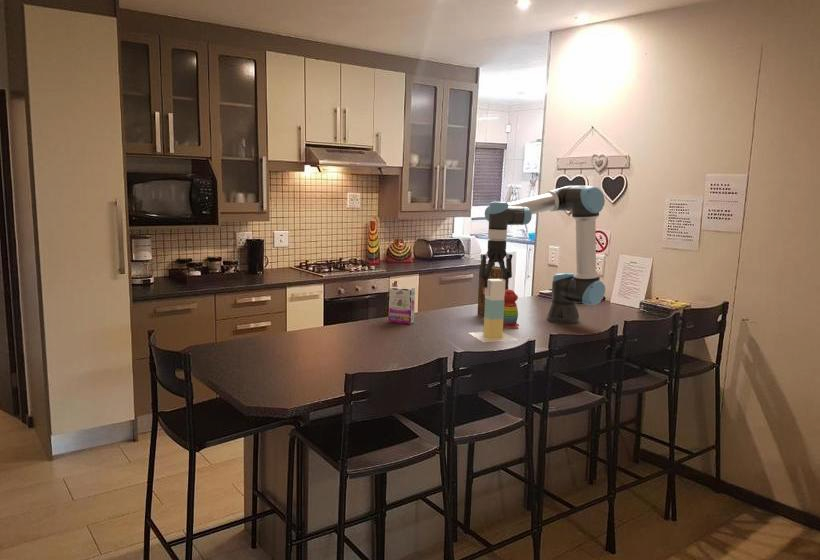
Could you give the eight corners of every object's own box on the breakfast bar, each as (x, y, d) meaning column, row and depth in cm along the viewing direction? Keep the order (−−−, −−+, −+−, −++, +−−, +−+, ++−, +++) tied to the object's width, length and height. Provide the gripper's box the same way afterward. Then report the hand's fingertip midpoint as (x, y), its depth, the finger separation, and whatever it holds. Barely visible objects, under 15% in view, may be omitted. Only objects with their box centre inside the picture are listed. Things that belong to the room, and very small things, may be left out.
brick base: (496, 334, 258) (497, 315, 257) (502, 337, 253) (503, 318, 252) (483, 335, 257) (484, 316, 255) (489, 338, 251) (490, 319, 250)
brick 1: (497, 297, 256) (498, 278, 255) (504, 300, 250) (505, 281, 249) (484, 297, 254) (485, 278, 253) (490, 300, 248) (492, 281, 247)
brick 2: (497, 315, 257) (498, 297, 256) (503, 318, 252) (504, 300, 250) (484, 316, 255) (485, 297, 254) (490, 319, 250) (491, 300, 249)
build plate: (501, 333, 265) (501, 330, 265) (518, 342, 250) (518, 340, 250) (467, 335, 260) (467, 332, 260) (483, 344, 245) (483, 342, 245)
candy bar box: (414, 322, 281) (415, 287, 279) (410, 324, 277) (411, 289, 274) (392, 320, 285) (393, 285, 283) (388, 322, 281) (388, 287, 278)
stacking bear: (518, 331, 268) (520, 292, 265) (495, 330, 270) (497, 290, 267) (519, 326, 279) (521, 288, 276) (497, 324, 281) (498, 287, 278)
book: (475, 315, 301) (477, 265, 297) (484, 313, 304) (486, 264, 300) (498, 321, 288) (500, 269, 284) (506, 320, 291) (509, 268, 287)
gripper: (514, 238, 255) (511, 292, 258) (471, 239, 249) (469, 294, 253) (522, 240, 248) (520, 295, 251) (479, 240, 242) (476, 297, 245)
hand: (494, 294), depth 252 cm, fingers open, 6 cm apart
